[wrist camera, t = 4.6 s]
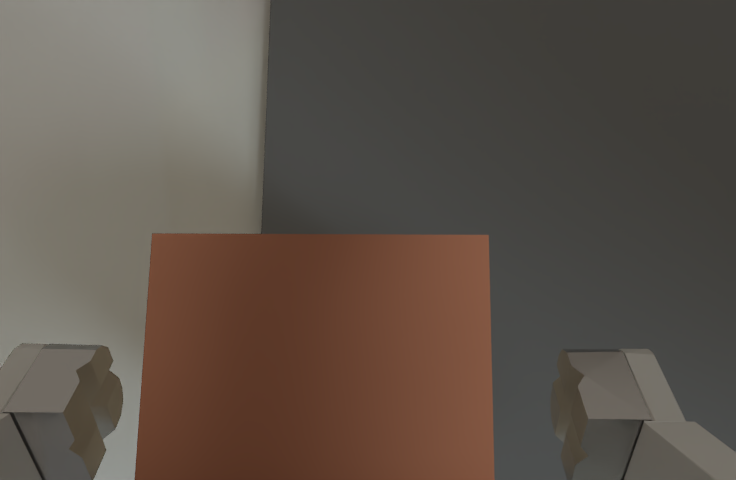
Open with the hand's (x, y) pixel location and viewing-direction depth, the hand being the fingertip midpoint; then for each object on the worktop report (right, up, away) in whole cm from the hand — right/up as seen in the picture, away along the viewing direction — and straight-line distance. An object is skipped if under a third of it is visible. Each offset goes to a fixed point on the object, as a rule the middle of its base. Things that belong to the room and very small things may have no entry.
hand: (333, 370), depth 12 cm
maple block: (0, -2, +7) cm, 8 cm away
